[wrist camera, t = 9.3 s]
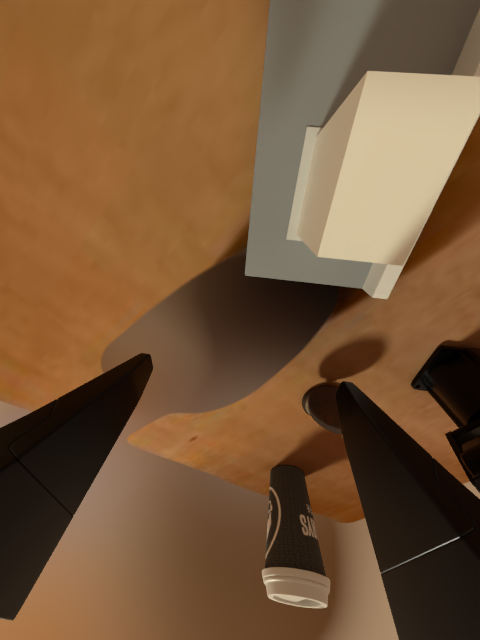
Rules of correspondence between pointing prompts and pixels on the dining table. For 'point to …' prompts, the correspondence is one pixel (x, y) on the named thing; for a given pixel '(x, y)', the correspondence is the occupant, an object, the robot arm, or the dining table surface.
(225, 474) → the dining table surface
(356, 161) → the carton
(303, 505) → the coffee cup
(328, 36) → the shelf board
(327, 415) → the compass
